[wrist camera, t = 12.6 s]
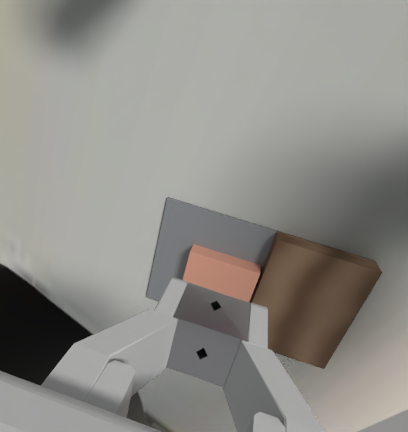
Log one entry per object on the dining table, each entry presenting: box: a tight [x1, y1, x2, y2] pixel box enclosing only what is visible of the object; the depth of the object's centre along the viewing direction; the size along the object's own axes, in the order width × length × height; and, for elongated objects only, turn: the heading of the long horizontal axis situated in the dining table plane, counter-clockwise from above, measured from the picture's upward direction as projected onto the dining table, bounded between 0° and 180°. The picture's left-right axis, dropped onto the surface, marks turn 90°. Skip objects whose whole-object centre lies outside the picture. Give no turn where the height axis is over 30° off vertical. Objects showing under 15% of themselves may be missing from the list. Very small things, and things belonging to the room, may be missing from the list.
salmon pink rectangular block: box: [183, 244, 261, 302], centre depth 39 cm, size 9×6×2 cm, turn 76°
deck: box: [249, 231, 382, 369], centre depth 38 cm, size 12×16×2 cm
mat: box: [146, 197, 277, 301], centre depth 40 cm, size 14×16×1 cm
